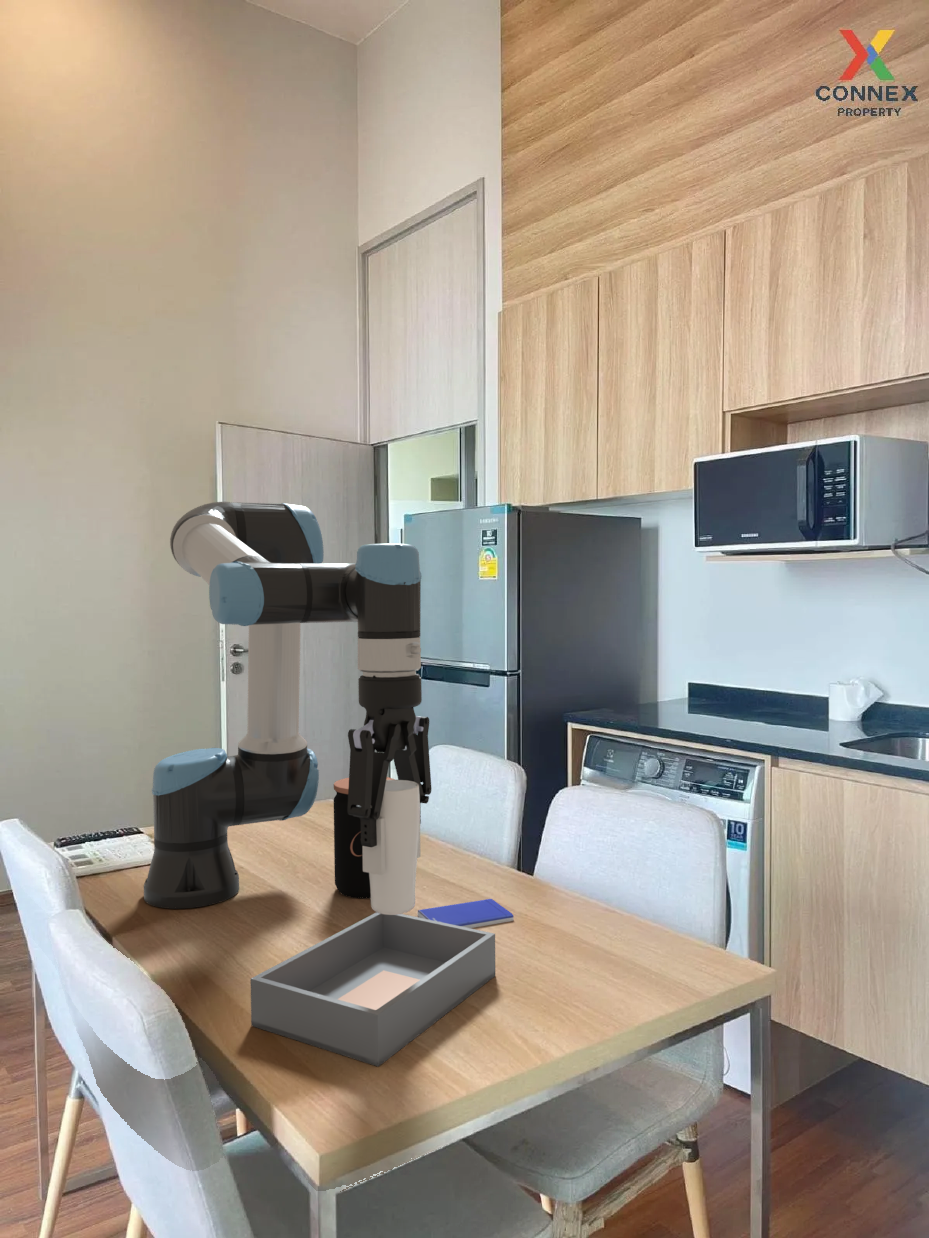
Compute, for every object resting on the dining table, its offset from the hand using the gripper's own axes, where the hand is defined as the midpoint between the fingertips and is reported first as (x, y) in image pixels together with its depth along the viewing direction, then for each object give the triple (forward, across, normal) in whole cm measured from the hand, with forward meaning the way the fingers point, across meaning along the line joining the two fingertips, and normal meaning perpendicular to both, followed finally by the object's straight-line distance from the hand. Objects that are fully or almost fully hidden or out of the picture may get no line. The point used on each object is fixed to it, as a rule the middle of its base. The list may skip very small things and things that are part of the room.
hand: (392, 863), depth 109 cm
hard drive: (+18, +29, +7) cm, 34 cm away
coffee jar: (+17, +32, +28) cm, 46 cm away
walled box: (+17, 0, +2) cm, 17 cm away
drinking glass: (+6, 0, 0) cm, 6 cm away
